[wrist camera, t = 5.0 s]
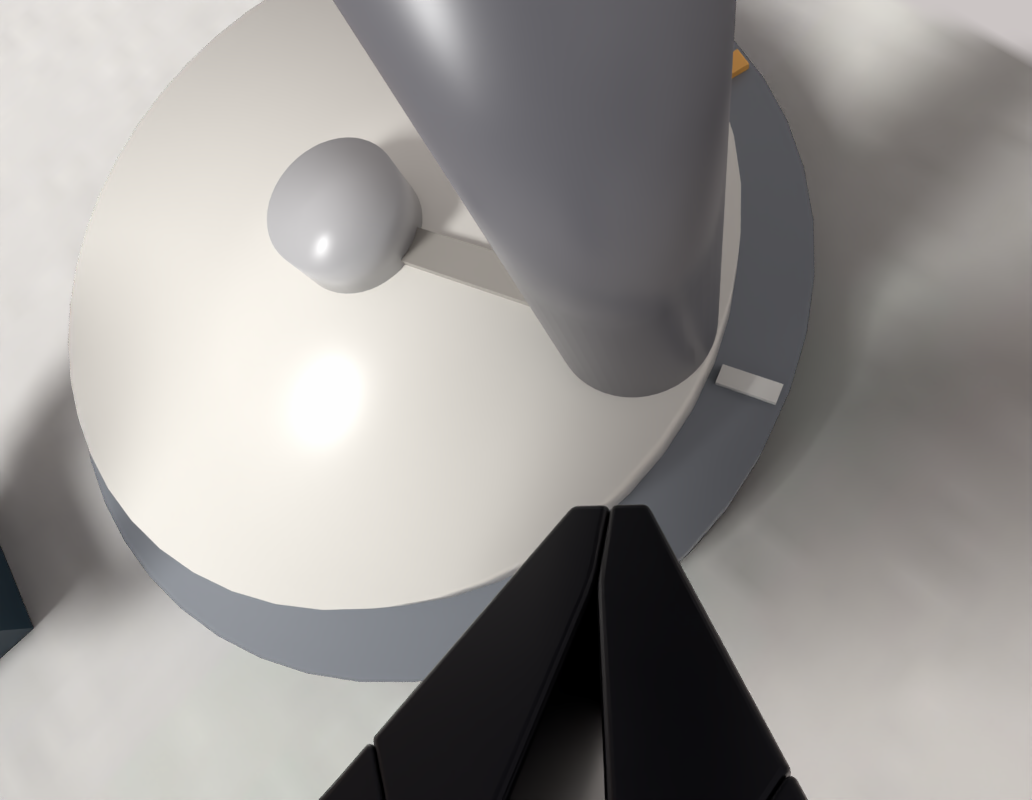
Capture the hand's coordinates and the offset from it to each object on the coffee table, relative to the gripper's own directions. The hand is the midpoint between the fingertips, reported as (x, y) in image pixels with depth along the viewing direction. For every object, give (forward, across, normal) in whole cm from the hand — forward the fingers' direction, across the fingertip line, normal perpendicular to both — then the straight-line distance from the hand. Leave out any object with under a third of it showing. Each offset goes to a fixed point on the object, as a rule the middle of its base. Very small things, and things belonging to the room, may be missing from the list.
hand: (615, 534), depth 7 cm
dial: (+9, +6, -1) cm, 11 cm away
